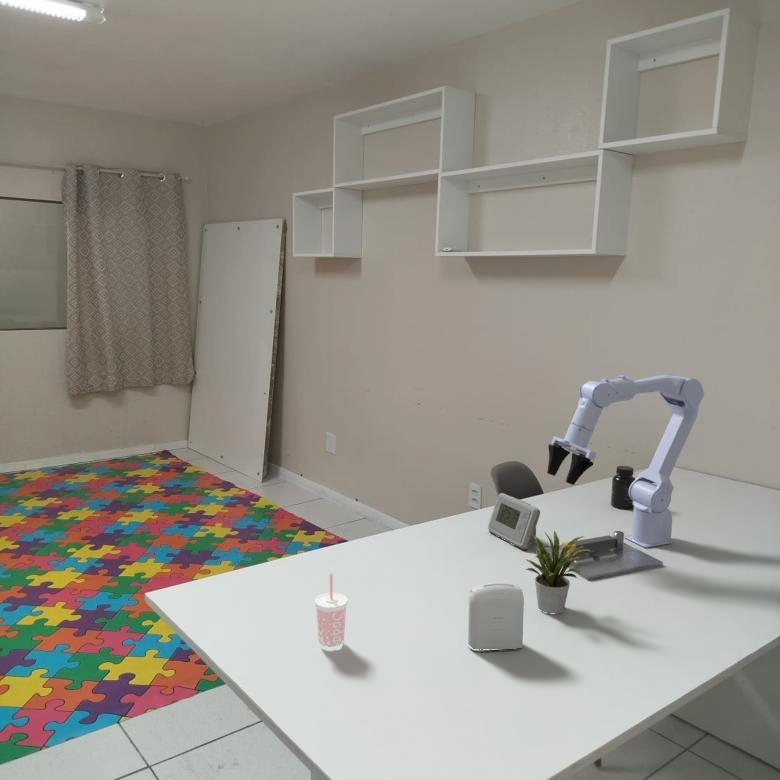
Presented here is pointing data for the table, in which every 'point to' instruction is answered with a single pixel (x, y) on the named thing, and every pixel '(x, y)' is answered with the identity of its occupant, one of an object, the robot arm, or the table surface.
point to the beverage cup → (331, 617)
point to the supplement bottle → (622, 488)
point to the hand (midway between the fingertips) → (560, 479)
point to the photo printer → (496, 616)
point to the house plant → (553, 574)
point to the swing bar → (592, 544)
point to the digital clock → (514, 520)
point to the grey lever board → (611, 560)
